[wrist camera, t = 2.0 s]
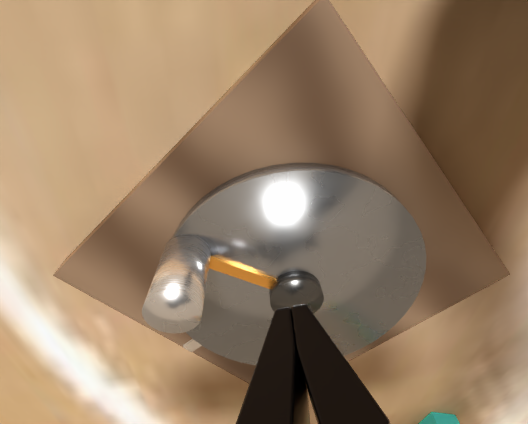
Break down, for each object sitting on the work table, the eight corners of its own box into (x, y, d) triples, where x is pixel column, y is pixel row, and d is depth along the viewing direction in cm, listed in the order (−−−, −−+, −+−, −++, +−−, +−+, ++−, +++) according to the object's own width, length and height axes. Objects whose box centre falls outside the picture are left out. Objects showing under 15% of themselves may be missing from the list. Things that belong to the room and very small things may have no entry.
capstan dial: (473, 230, 17) (546, 296, 13) (327, 372, 24) (344, 447, 20) (226, 105, 13) (216, 142, 9) (132, 319, 20) (100, 399, 16)
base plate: (317, -3, 13) (326, -6, 11) (494, 259, 21) (512, 276, 20) (65, 258, 19) (51, 277, 18) (276, 381, 28) (277, 401, 26)
